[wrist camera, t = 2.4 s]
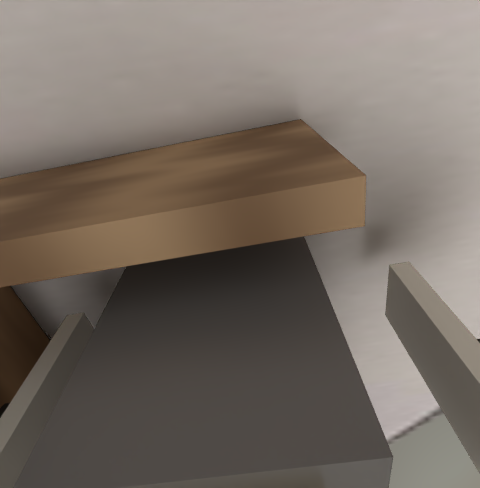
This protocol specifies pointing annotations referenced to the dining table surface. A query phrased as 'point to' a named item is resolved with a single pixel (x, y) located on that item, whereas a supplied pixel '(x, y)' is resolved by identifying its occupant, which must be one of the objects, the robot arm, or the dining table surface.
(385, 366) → the dining table surface
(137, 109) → the dining table surface
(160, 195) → the bay
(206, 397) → the grey box yellow panel
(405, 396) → the dining table surface
